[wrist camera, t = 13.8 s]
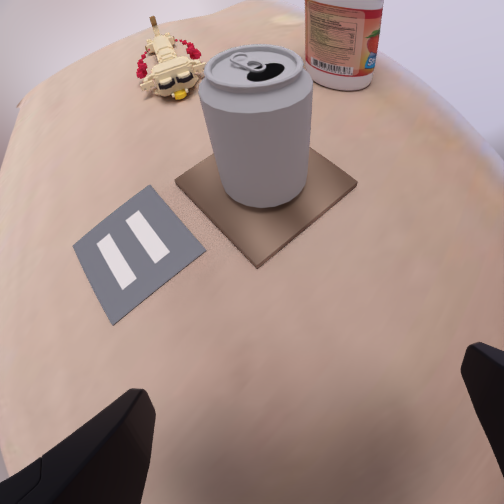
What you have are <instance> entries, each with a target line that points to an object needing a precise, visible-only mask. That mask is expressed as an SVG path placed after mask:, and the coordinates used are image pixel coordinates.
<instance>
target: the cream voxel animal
mask: <svg viewBox="0 0 504 504" xmlns="http://www.w3.org/2000/svg"><path fill="white" fill-rule="evenodd" d="M150 21H151V24H152V28H153V31H154V34H155V37H154V39H153V41H151V39H148V40H146V41H147V44H148V45H147V46H145V48H146V51H148V52H150V53H152V52H155V53H156V56H157V59H158V63H159V64H157V65H155V66H154V67H153V69H151V70H152V74H149V76H146V75H147V71H146V68H147V65H146V63H143V59H144V58H146V56H145V54H147V52H144V53H145V54H143V55H141V57H142V59H140V60H138V61H139V62H137V64H138V67H139V69H137V72H136V73H137V77H138V78H139V77H140V79H142V78H143V81H144V83H143V84H140V87H141V89H142V91H144V90H147V91H149V90H151V88H152V87H154V83H153V80H152V79H154V81H155V84H156V86H157V89H158V90H154V92H155V95H156V94H157V95H162V96H165V97H166V96H168V95H172V97H175V99H178V100H179V99H182V98H185V96H187V95H186V93H187V92H188V88H191V87H193V86H195V85H194V84H195V83H196V81H197V80H199V78H198V77H197V75H196V76H195V75H194V73H195V72H199V73H201V72H203V70H204V67H205V65H206V63H205V62H203V63H201V62H200V61H199V58H200V56H201V52H200V51H199V50H198V49H195V48H194V45H193V43H192V44H191V42H189V43H187V42H186V40H184V41H182V40H179V41H180V42H182V44H183V45H184V44H185V45H186V44H187V47H188V48H187V49H186V51H187V54H190V58H191V59H193V60H189V59H188V57H185V56H180V57H177V55H176V53H175V51H174V49H173V47H172V46H173V45H174V43H175V41H176V42H177V41H178V40H177V39H176V40H175V39H174V36H173V37H171V36H170V33H169V32H168V33H165V36H164V35H160V32H159V29H158V26H157V23H156V19H155V17H154V16H152V17H150ZM192 67H193V68H192Z"/></svg>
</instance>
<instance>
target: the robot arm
mask: <svg viewBox="0 0 504 504" xmlns="http://www.w3.org/2000/svg"><path fill="white" fill-rule="evenodd" d="M461 375H462V378H463V380H464V382H465V385H466V388H467V390H468V393H469V395H470V398H471V401H472V403H473V406H474V409H475V411H476V414H477V416H478V418H479V421H480V423H481V425H482V427H483V429H484V431H485V434H486V436H487V438H488V440H489V443H490V445H491V447H492V450H493V452H494V454H495V457H496V459H497V462H498V464H499V467H500V469H501V472H502V475H503V477H504V351H502V350H499V349H497V348H494V347H492V346H489V345H487V344H484V343H482V342H477V343H474V344H471V345H469V346H468V347H467V349H466V352H465V356H464V359H463V362H462V365H461ZM155 418H156V413H155V409H154V407H153V405H152V402H151V400H150V398H149V396H148V393H147V392H146V391H145V390H144V389H135V388H132V389H129V390H128V391H127V392H125V393H124V394H123V395H122V396H120V397H119V398H118V399H116V400H115V401H114V402H113V403H111V404H110V405H109V406H107V407H106V408H105V409H104V410H102V411H101V412H100V413H98V414H97V415H96V416H94V417H93V418H92V419H91V420H89V421H88V422H87V423H85V424H84V425H83V426H81V427H80V428H79V429H77V430H76V431H75V432H73V433H72V434H71V435H69V436H68V437H67V438H65V439H64V440H63V441H61V442H60V443H59V444H57V445H56V446H55V447H53V448H52V449H51V450H49V451H48V452H46V453H45V454H44V455H42V457H40V458H38V459H37V460H35V461H34V462H33V463H31V464H30V465H28V466H27V467H25V468H24V469H22V470H21V471H19V472H18V473H16V474H14V475H13V476H11V477H9V478H8V479H6V480H4V481H2V482H1V483H0V504H141V499H142V495H143V490H144V486H145V482H146V478H147V473H148V469H149V464H150V458H151V450H152V441H153V433H154V425H155Z"/></svg>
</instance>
